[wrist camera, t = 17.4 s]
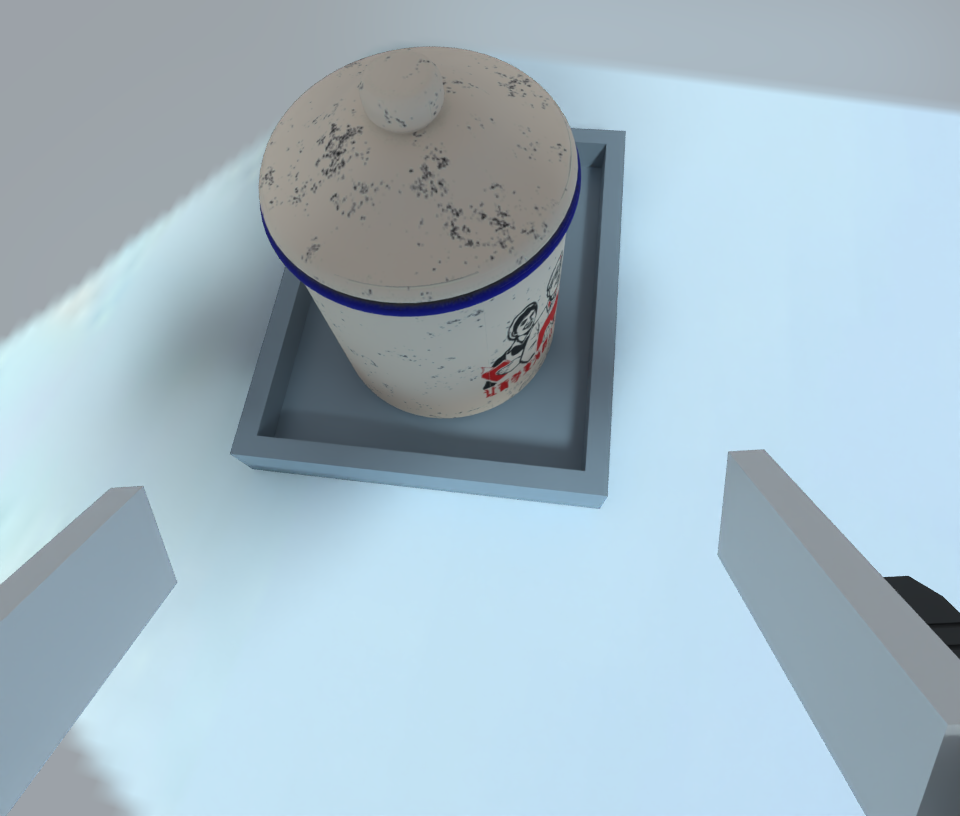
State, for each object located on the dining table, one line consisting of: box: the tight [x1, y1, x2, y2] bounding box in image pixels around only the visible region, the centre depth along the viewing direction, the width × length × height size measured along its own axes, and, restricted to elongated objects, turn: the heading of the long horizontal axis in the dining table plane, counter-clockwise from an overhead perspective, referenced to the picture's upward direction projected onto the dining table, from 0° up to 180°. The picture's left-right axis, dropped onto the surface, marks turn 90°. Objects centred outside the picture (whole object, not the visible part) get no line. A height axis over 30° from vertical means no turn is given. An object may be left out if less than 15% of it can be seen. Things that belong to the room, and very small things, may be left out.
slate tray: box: [230, 128, 626, 509], centre depth 24 cm, size 14×17×2 cm
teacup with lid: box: [259, 47, 581, 418], centre depth 19 cm, size 12×9×12 cm
